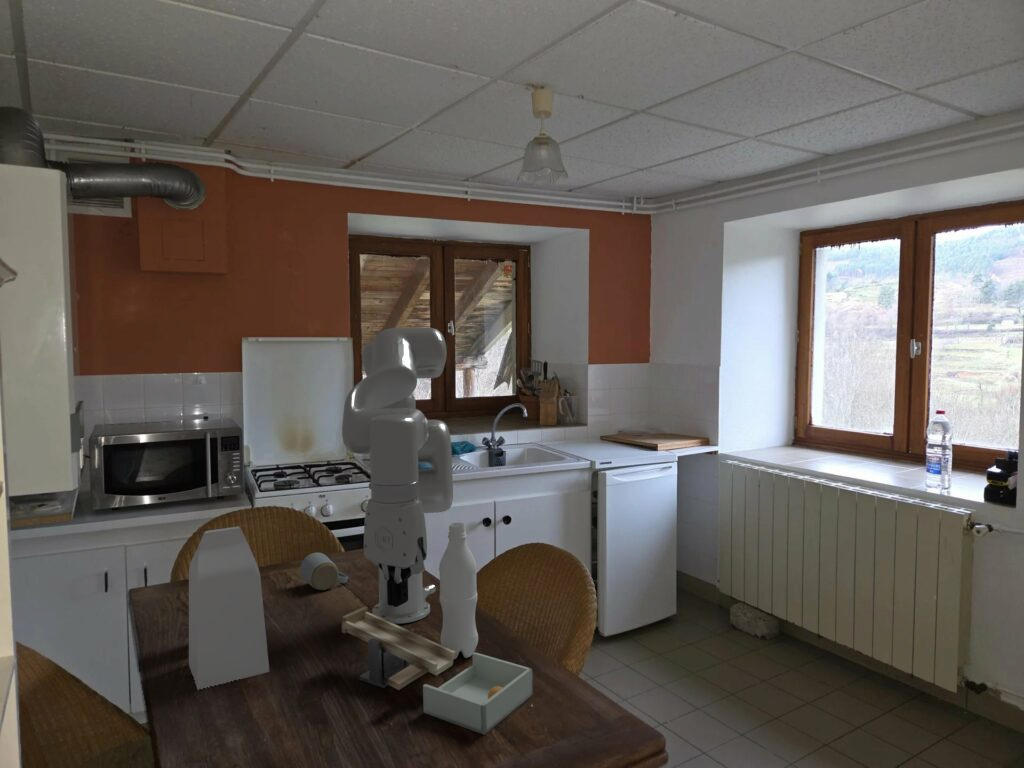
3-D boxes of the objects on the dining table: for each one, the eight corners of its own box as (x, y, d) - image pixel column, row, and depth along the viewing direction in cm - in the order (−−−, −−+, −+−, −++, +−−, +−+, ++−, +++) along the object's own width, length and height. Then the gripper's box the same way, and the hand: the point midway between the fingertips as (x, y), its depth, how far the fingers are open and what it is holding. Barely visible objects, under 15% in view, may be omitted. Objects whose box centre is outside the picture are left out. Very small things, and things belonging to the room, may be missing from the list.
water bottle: (461, 641, 138) (459, 517, 136) (486, 653, 133) (483, 524, 131) (433, 653, 133) (430, 524, 131) (457, 665, 128) (454, 532, 126)
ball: (493, 696, 115) (497, 679, 114) (508, 706, 113) (513, 689, 112) (482, 704, 112) (486, 687, 111) (497, 715, 110) (502, 698, 110)
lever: (312, 645, 122) (313, 629, 122) (364, 621, 132) (365, 606, 132) (407, 694, 110) (408, 676, 110) (455, 663, 121) (456, 647, 120)
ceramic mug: (311, 595, 165) (311, 563, 165) (299, 585, 172) (299, 554, 171) (353, 586, 171) (353, 555, 171) (340, 577, 178) (340, 547, 177)
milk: (197, 690, 120) (191, 542, 119) (188, 664, 130) (182, 527, 128) (269, 671, 127) (264, 531, 125) (255, 648, 136) (250, 518, 135)
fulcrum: (359, 679, 123) (358, 639, 123) (394, 659, 131) (393, 622, 130) (384, 688, 120) (383, 647, 120) (418, 667, 127) (417, 629, 127)
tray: (475, 676, 124) (474, 652, 123) (532, 694, 117) (532, 668, 117) (423, 712, 112) (423, 685, 112) (484, 734, 105) (483, 706, 105)
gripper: (344, 491, 112) (348, 601, 114) (415, 503, 104) (418, 622, 105) (377, 482, 118) (380, 587, 120) (446, 492, 110) (448, 605, 112)
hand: (398, 603), depth 113 cm, fingers closed
